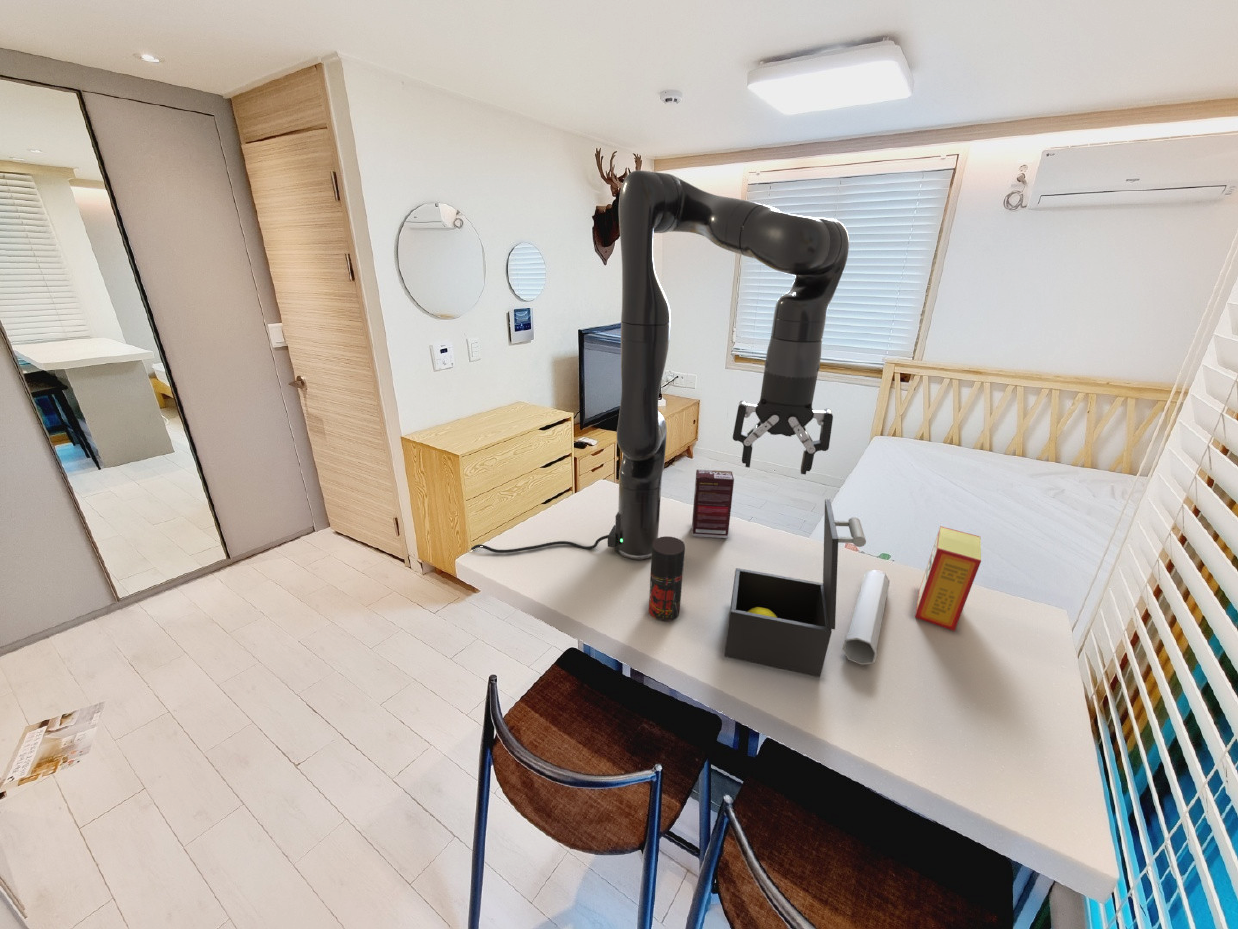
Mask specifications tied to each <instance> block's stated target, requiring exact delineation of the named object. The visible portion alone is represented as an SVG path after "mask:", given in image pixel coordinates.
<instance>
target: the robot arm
mask: <svg viewBox="0 0 1238 929" xmlns="http://www.w3.org/2000/svg"><path fill="white" fill-rule="evenodd" d="M618 225H619V240H620V251H621V252H620V253H621V313H620V314H621V315H620V375H621V376H620V382H621V396H620V404H619V413H618V421H617V427H616V443H617V446H618V448H619V450H620V452H621V453H622V457H621V458H622V459H621V463H620V466H619V471H618V504H617V505H618V507H617V508H618V511H617V512H616V514H615V520H614V522H615V524H614V525H613V526H612V528H611V530H610V531H609V533H608V534H606V535H603V536H601V537H599V538H597V539H596V540H595V542H594V543H593V545H588V546H584V545H581V544H578V543H575V542H572V541H567V540H557V541H552V542H546V543H541V544H536V545H531V546H523V547H518V548H511V549H510V548H509V549H497V548H493V547H490V546H488V545H484V544H481V543H479V544H475V545H473V546H472V547H470V550H471V551H474V550H476V549H481V548H482V549H484V550H487V551H490V552H491V553H496V554H508V553H509V554H510V553H517V552H523V551H529V550H537V549H541V548H545V547H551V546H557V545H568V546H572V547H575V548H579V549H583V550H592V549H595V548H597V547H598V545H599V543H600V542H601V541H603V540H606V539H607V547H608V548H613V549H614V553H618V554H620V555H621V556H622V557H624V558H627V559H629V560H634V561H635V560H636V561H642V560H643V561H644V560H647V559H651V556H652V543H653V541H654V540H655V539H657V538H659V533H660V532H659V531H660V515H661V513H660V512H661V497H662V483H663V482H662V480H663V474H664V469H665V461H666V449H667V448H666V447H667V434H668V430H667V429H668V428H667V422H666V420H665V418H664V416H663V415H662V414H661V412H659V395H660V389H661V384H662V380H663V376H664V373H665V368H666V364H667V358H668V353H669V346H670V338H671V337H670V335H671V320H672V319H671V318H672V317H671V316H672V315H671V314H672V313H671V307H670V304H669V301H668V297H667V296H666V293H665V291H664V289H663V286H662V284H661V282H660V280H659V277H658V275H657V272H656V268H655V262H654V234H665V233H666V234H667V233H671V232H672V233H673V232H675V233H692V234H696V235H699V236H702V237H705V238H706V239H707V240H709V241H710V242H711V243H713V244H714V245H716V246H717V247H719V248H721V249H723V250H726V251H728V252H731V253H734V254H738V255H741V256H744V257H747V258H751V259H755V260H757V261H758V262H760V263H762V264H764V265H765V266H767V267H768V268H771V269H772V270H774V271H777V272H780V273H783V274H787V275H792V276H795V277H794V280H793V282H792V286H791V288H790V290H789V291H788V292H786V293H784V294H782V295H781V296H780V297H779V298H778V299H777V300H776V303H775V306H774V311H773V318H772V319H773V320H772V325H771V331H770V332H771V334H770V339H769V343H768V346H767V350H766V355H765V360H764V369H763V376H762V383H761V389H760V390H761V391H760V397H759V401H758V402H757V404H755V403H748V402H747V401H746V400H740V401H739V403H738V406H737V412H736V417H735V422H734V426H733V432H732V440H733V441H735V442H739V443H741V444H742V445H743V446H742V455H741V463H742V464H745V465H744V467H745V468H749V469H750V467H751V463H752V462H751V460H752V453H753V447H754V446H753V445H754V443H755V442H756V441H757V440H758V439H759V438H761V437H762V436H763V435H764V434H765V433H766V432H767V433H768V434H770V435H773V436H777V435H782V436H785V437H789V438H790V437H792V436H795V435H796V436H797V438H798V439H799V441H800V443H801V444H802V445H803V447H804V448H803V453H802V457H801V464H800V475H807V472H811V471H812V467H813V463H814V457H815V454H816V453H817V452H820V451H822V452H827V451H828V450H829V448H830V443H831V435H832V428H833V420H834V415H833V412H832V410H831V409H830V408H825V409H823V410H816V409H815V410H814V409H813V401H814V396H815V393H816V392H815V390H816V386H817V382H818V375H819V371H820V368H821V358H822V346H823V345H822V344H823V338H824V333H825V332H824V331H825V326H826V322H827V315H828V308H829V306H830V304H831V301H832V299H833V297H834V296H835V293H836V291H837V288H838V285H839V283H840V281H841V278H842V275H843V273H844V271H845V267H846V264H847V261H848V257H849V250H850V242H849V241H850V239H849V234H848V230H847V228H846V227H845V226H844V224H843V223H842V222H841V221H839V220H837V219H835V218H829V217H816V216H815V217H814V216H804V215H797V214H791V213H786V212H782V211H780V209H779V208H776V207H773V206H770V205H767V204H762V203H758V202H755V201H750V200H746V199H740V198H736V197H735V198H734V197H729V196H722V195H717V194H713V193H710V192H707V191H705V190H702V189H700V188H698V187H696V186H695V185H692V184H690V183H689V182H688V181H685V180H684V179H681V178H679V177H677V176H675V175H673V174H670V173H668V172H667V173H666V172H665V173H664V172H657V171H650V170H640V169H639V170H633V171H631V172H630V173H628V174H627V175H626V177H625V178H624V180H623V182H622V184H621V186H620V191H619V200H618ZM753 413H755V415H756V417H757V419H758V421H757V422H756V423H755V424H754V426H753V427H752V428H751V429H750V430H749V431H747V433H746V432H744V431H743V427H744V421H745V419H748V418H749V417H750V416H751V414H753ZM813 419H814V420H815V421H816V424H817V425H818V426H820V430H819V431H820V433H819V439H818V440H813V438H812V437H811V435H810V433H809V431H808V430H807V428H806V426H807V424H809V423H810V422H812V420H813ZM480 546H483V547H480Z"/></svg>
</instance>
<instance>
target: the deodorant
mask: <svg viewBox="0 0 1238 929" xmlns="http://www.w3.org/2000/svg"><path fill="white" fill-rule="evenodd" d="M685 553H686V544H685V542H684V541H682V540H681V539H680V538H678V537H675V536H666V535H665V536H660V537H659V536H658V538H657V539H655V540H654V541H653V543H652V556H651V558H650V576H649V578H650V579H649V594H648V596H649V597H648V614H649V616H650V617H652V618H653V620H657V621H659V622H662V623H663V622H665V623H666V622H667V623H668V622H673V621H674V620H676V619H677V618H678V617H679V616H680V611H681V599H682V590H683V589H682V588H683V576H684V566H685V565H684V564H685Z"/></svg>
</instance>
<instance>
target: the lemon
mask: <svg viewBox="0 0 1238 929" xmlns="http://www.w3.org/2000/svg"><path fill="white" fill-rule="evenodd" d="M748 612H750V613H755V614H760V615H765V616H770V617H775V618H777V616H776V615H775V614H774V613H773V612H772V611H771V610H769V609H766V608H761V607H756V608H752V609H750V610H749V611H748Z"/></svg>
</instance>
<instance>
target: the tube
mask: <svg viewBox="0 0 1238 929" xmlns="http://www.w3.org/2000/svg"><path fill="white" fill-rule="evenodd" d="M889 587H890V579H889V577H888V576H887V573H886V572H884V571H881V570H879V569H873V570H868V571H865V573H864V576H863V580H862V582H861V587H860V589H859V593H858V597H857V601H856V604H855V607H854V611H853V614H852V619H851V621H850V626H849V630H848V633H847V636H846V637H845V639H844V642H843V644H842V651H843V653H844V655H845V656H846V658H847V660H849V661H851V662H853V663H855V664H859V665H861V666H862V665H872V664H875V662H876V658H877V655H878V650H877V649H878V648H877V646H878V642H879V637H880V632H881V627H882V624H883V618H884V612H885V607H886V602H887V597H888V591H889Z"/></svg>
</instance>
